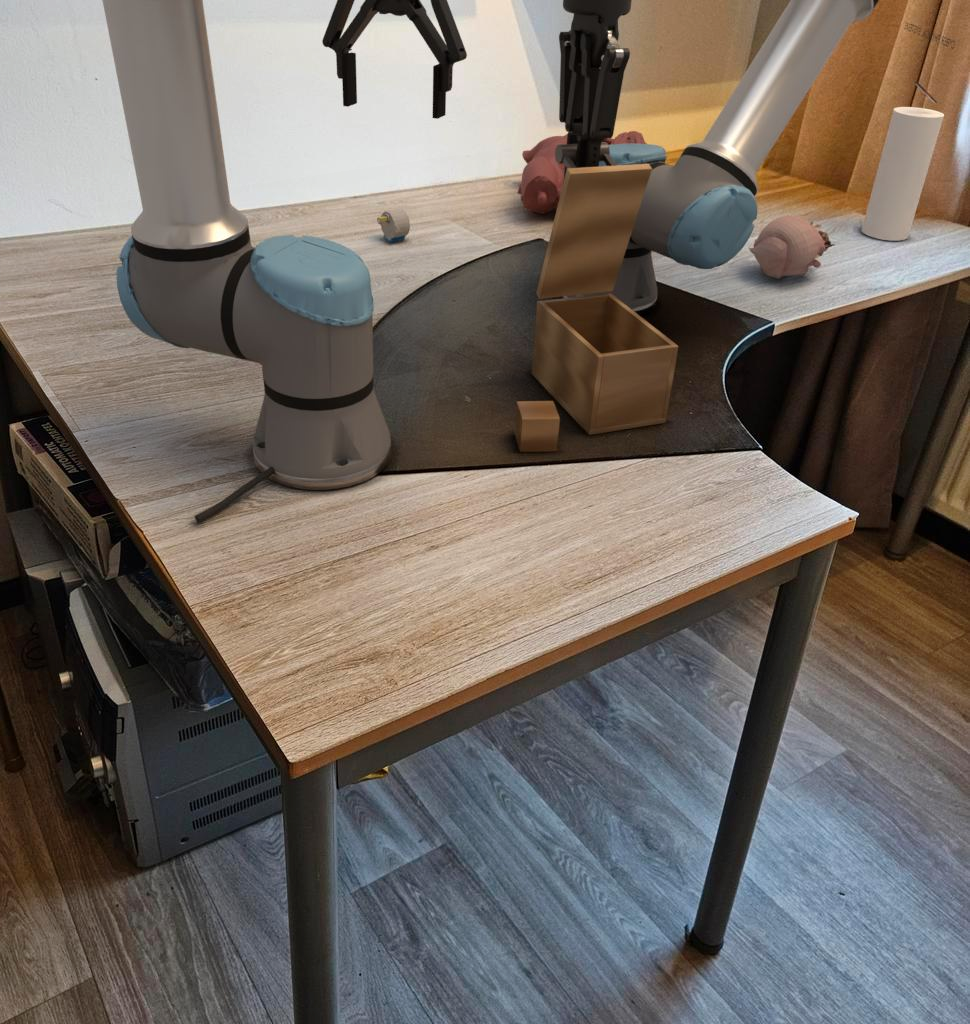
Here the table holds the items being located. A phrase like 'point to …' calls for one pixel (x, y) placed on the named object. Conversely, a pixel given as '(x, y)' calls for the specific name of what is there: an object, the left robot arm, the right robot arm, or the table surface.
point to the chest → (603, 362)
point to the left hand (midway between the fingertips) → (393, 110)
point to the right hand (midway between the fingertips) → (579, 191)
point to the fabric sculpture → (553, 171)
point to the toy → (790, 246)
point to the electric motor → (394, 225)
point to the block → (537, 426)
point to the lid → (591, 224)
